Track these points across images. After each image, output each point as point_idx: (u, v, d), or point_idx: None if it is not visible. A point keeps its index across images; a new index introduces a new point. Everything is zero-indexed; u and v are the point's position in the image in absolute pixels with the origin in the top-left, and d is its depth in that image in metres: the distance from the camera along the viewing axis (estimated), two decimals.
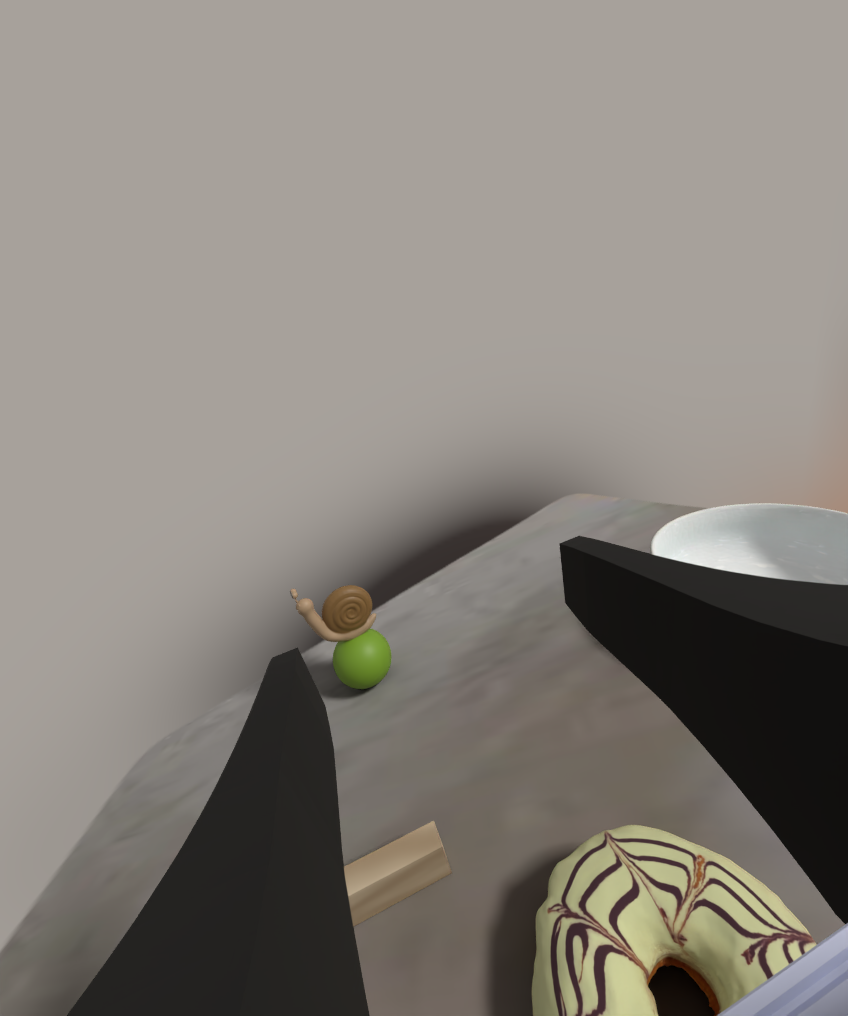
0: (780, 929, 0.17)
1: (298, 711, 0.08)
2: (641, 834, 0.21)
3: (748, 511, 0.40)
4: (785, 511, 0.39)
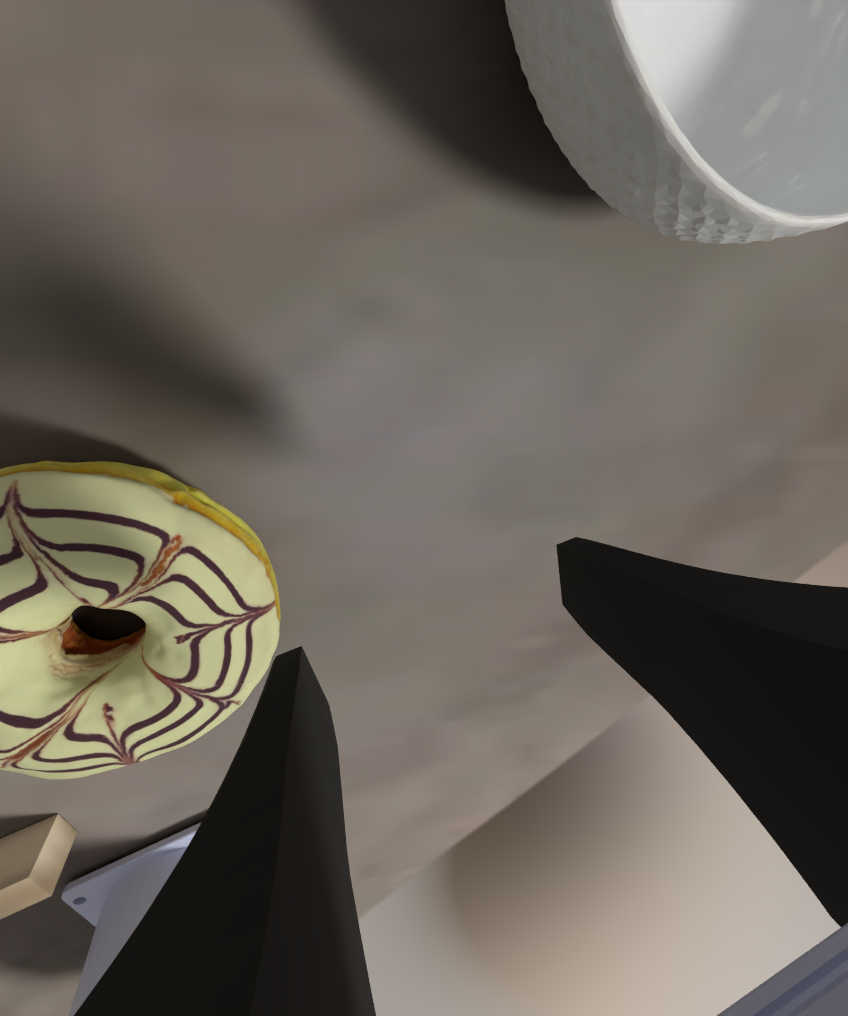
0: (236, 614, 0.14)
1: (303, 709, 0.08)
2: (86, 500, 0.12)
3: None
4: None
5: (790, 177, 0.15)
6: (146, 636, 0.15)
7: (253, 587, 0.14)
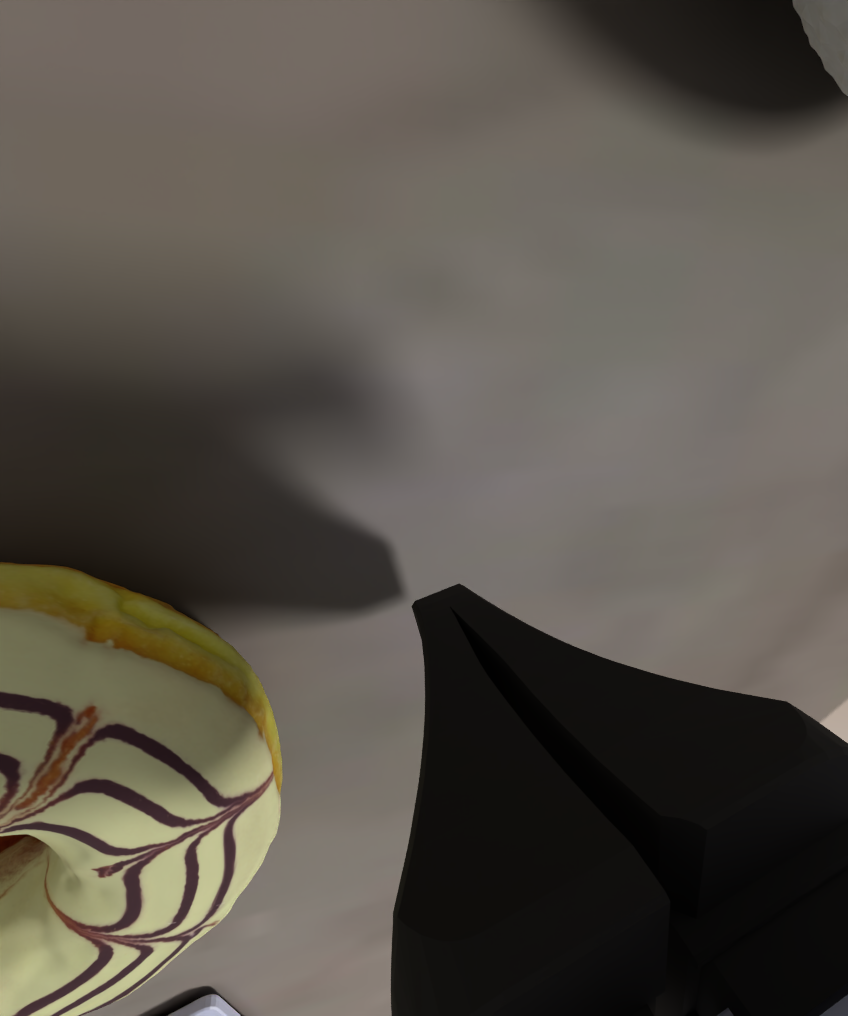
0: (206, 816, 0.08)
1: None
2: None
3: None
4: None
5: None
6: None
7: (236, 766, 0.08)
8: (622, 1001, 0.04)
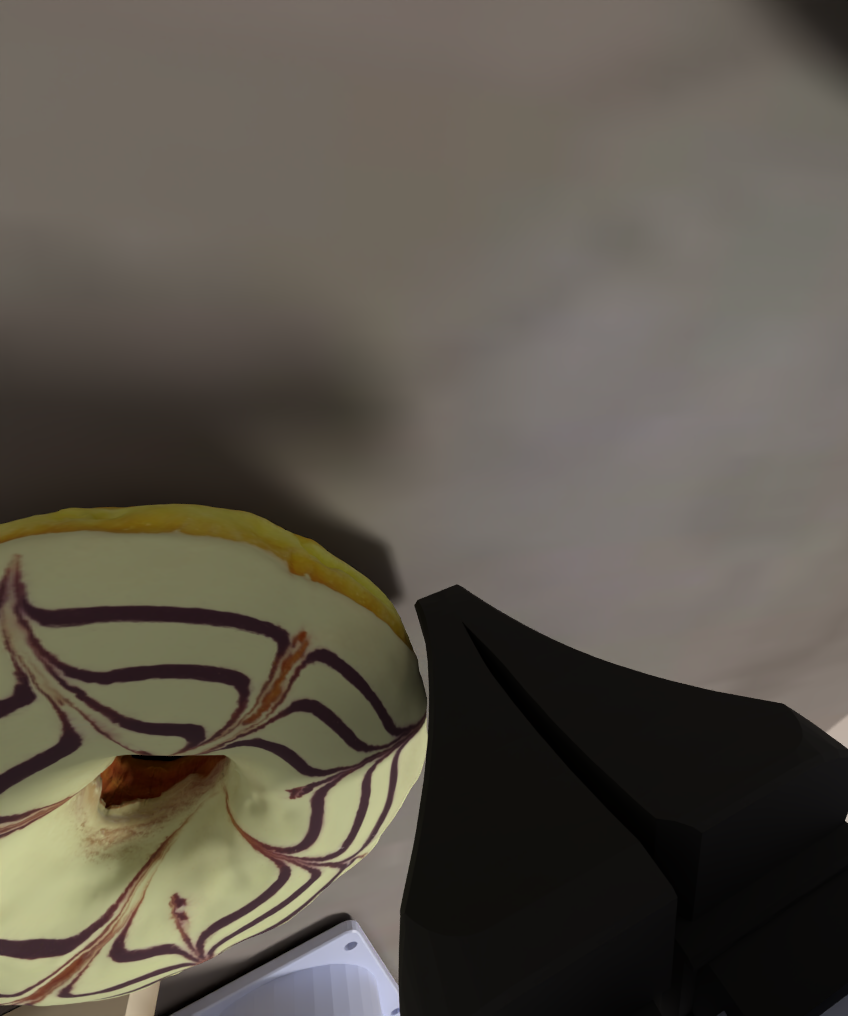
0: (382, 744, 0.09)
1: None
2: (150, 586, 0.06)
3: None
4: None
5: None
6: (232, 774, 0.09)
7: (405, 698, 0.09)
8: (629, 997, 0.04)
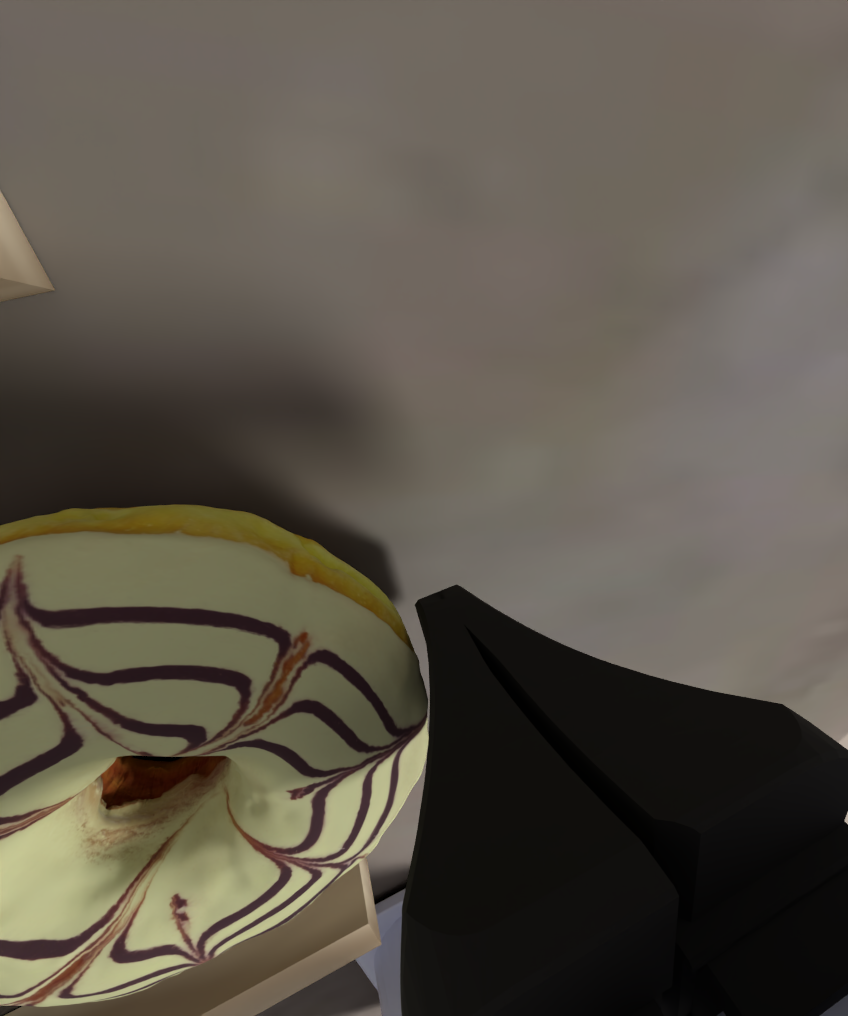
0: (383, 744, 0.09)
1: None
2: (151, 587, 0.06)
3: None
4: None
5: None
6: (233, 774, 0.09)
7: (406, 698, 0.09)
8: (630, 995, 0.04)
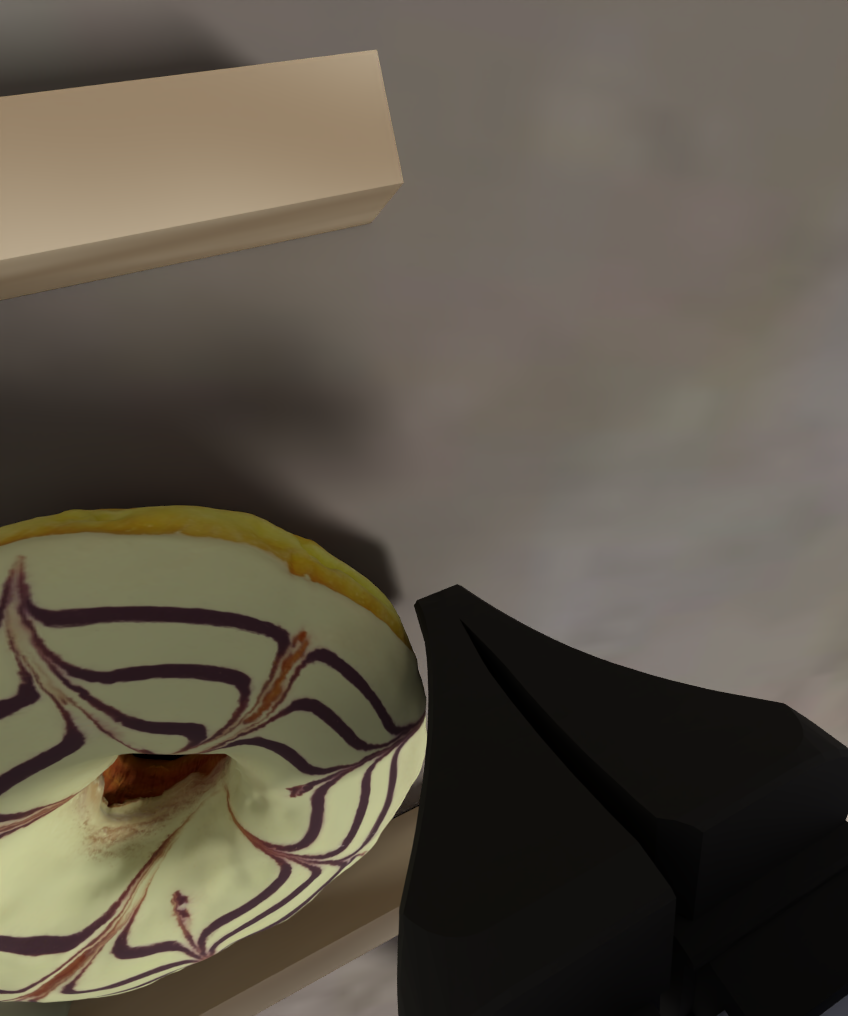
0: (381, 742, 0.09)
1: None
2: (152, 586, 0.06)
3: None
4: None
5: None
6: (233, 772, 0.09)
7: (405, 697, 0.09)
8: (627, 997, 0.04)
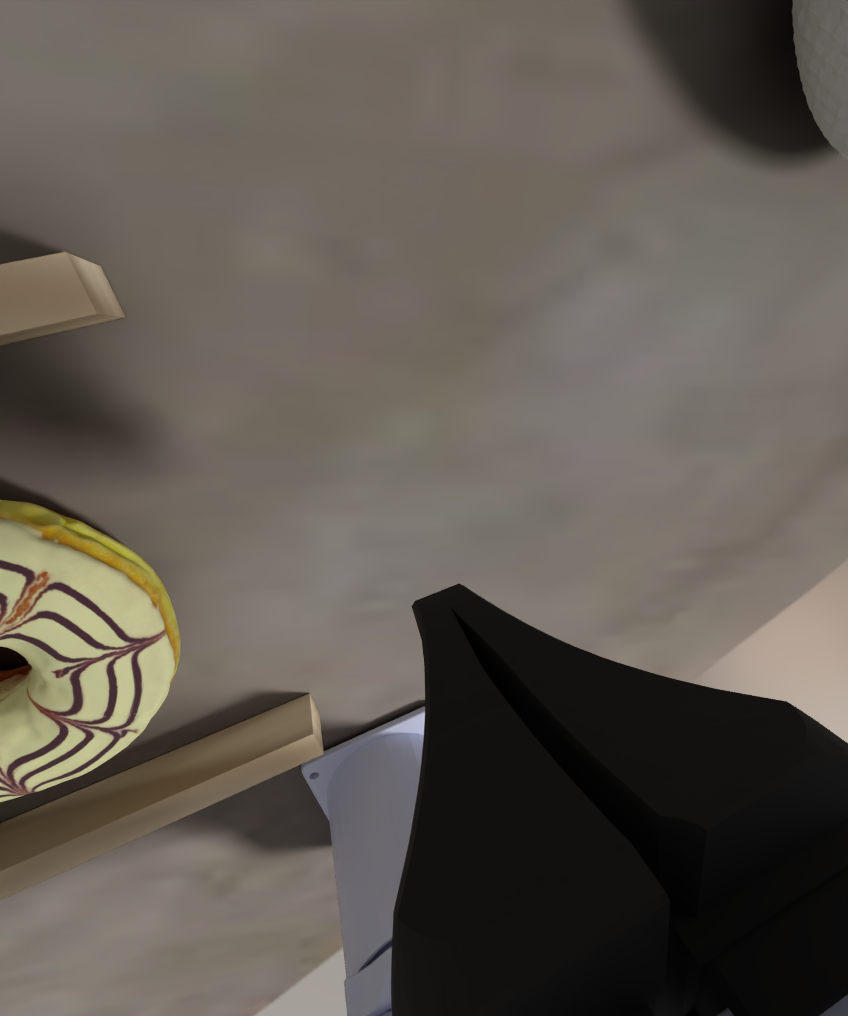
0: (117, 646, 0.14)
1: None
2: None
3: None
4: None
5: None
6: (32, 669, 0.15)
7: (136, 619, 0.14)
8: (622, 1001, 0.04)
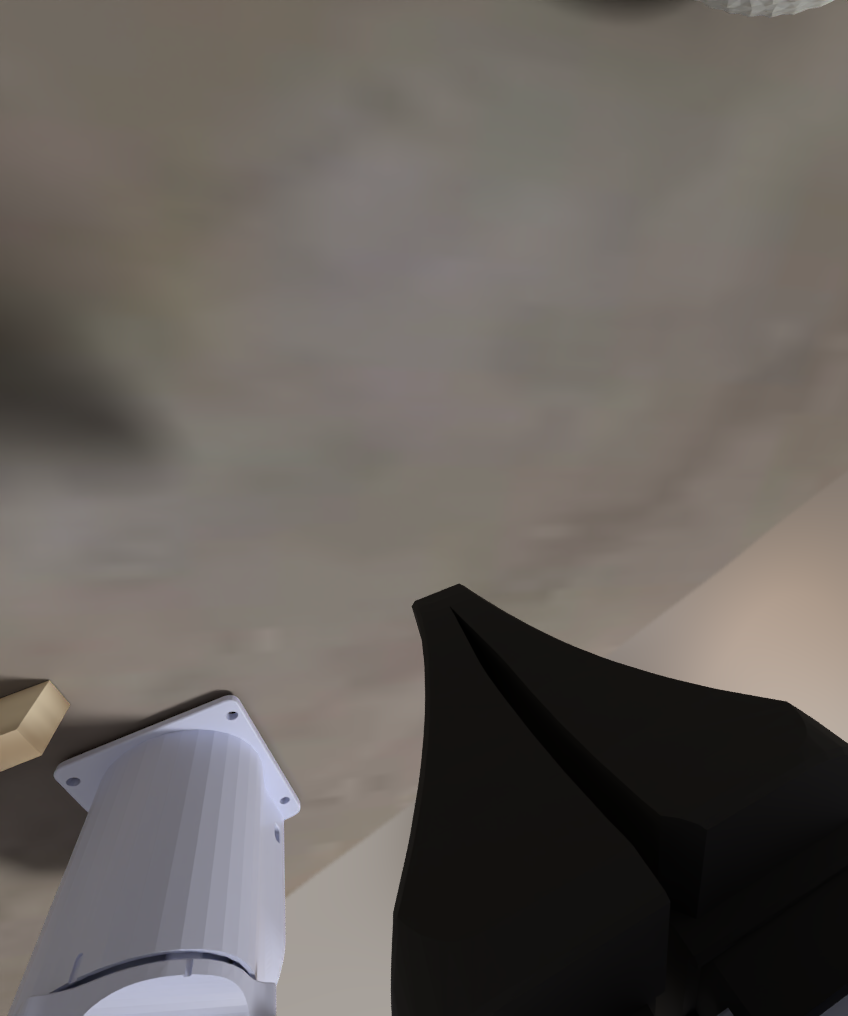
0: None
1: None
2: None
3: None
4: None
5: None
6: None
7: None
8: (622, 1001, 0.04)
